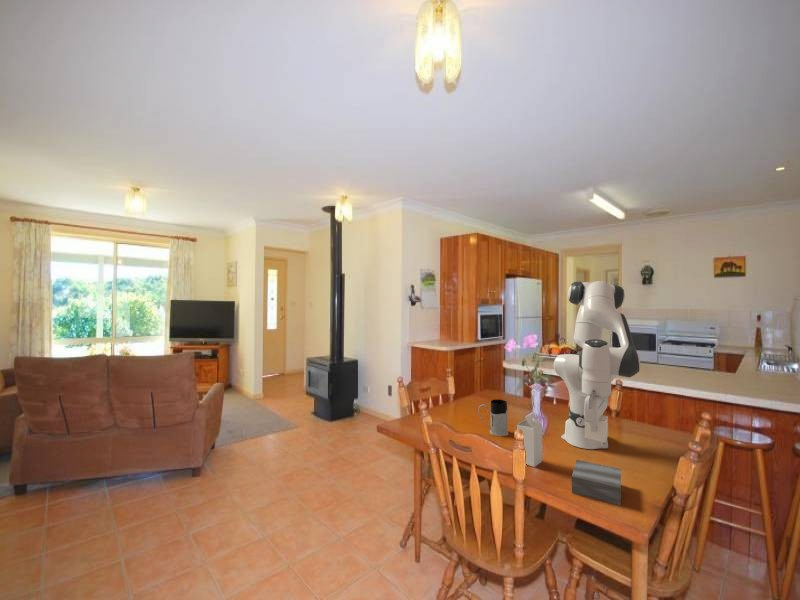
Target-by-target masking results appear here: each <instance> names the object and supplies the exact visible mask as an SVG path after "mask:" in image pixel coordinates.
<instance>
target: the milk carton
mask: <svg viewBox="0 0 800 600" xmlns="http://www.w3.org/2000/svg"><path fill="white" fill-rule="evenodd" d="M518 429H521V430H522V431H523V433H524V446H525V450H526V464H527V466H530V467H533V468H535V467H537V466H538V465H540V464H541V463H542V462H543V424H542V423H541V422H540V421H539V419H538V418H537V417H536V416H535V414H534V412H533V411H532V412H531V413H529V414H527V415H526V416H524V420H522V421H520V422H519V423H517V424H516V431H517V430H518ZM526 464H525V465H526Z"/></svg>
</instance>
